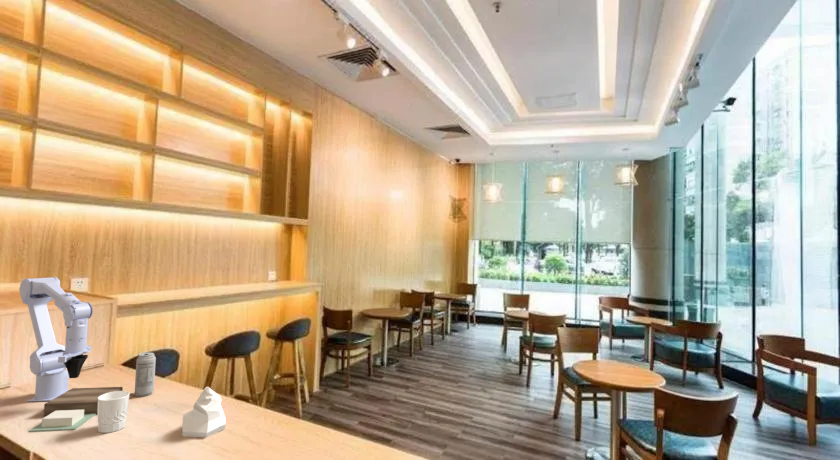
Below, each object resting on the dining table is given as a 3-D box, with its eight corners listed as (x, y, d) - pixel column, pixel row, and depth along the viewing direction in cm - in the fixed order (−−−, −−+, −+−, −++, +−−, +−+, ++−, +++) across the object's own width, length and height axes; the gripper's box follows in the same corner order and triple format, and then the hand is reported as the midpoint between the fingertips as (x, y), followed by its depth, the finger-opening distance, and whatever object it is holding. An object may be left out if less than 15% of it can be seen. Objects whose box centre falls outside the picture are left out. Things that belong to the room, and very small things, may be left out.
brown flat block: (71, 399, 144) (72, 388, 144) (122, 397, 147) (122, 386, 147) (43, 416, 130) (44, 404, 130) (99, 414, 133) (100, 402, 133)
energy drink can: (155, 390, 155) (157, 351, 155) (151, 396, 149) (153, 355, 150) (137, 392, 153) (139, 352, 153) (132, 398, 147) (134, 356, 148)
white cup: (92, 436, 119) (94, 402, 119) (99, 425, 126) (101, 392, 126) (125, 431, 122) (127, 398, 123) (129, 420, 129) (131, 389, 130)
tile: (41, 418, 122) (41, 427, 122) (72, 417, 124) (71, 425, 124) (55, 410, 128) (55, 418, 128) (84, 409, 130) (83, 417, 130)
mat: (53, 416, 130) (53, 415, 130) (95, 414, 133) (95, 413, 133) (28, 432, 120) (28, 430, 120) (74, 429, 122) (74, 428, 122)
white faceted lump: (239, 427, 131) (245, 388, 128) (193, 451, 118) (199, 408, 115) (216, 409, 137) (222, 371, 134) (170, 429, 124) (176, 388, 122)
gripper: (76, 343, 134) (73, 384, 133) (101, 333, 148) (99, 370, 148) (51, 343, 132) (49, 385, 132) (79, 333, 147) (77, 371, 146)
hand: (74, 377), depth 140 cm, fingers closed
